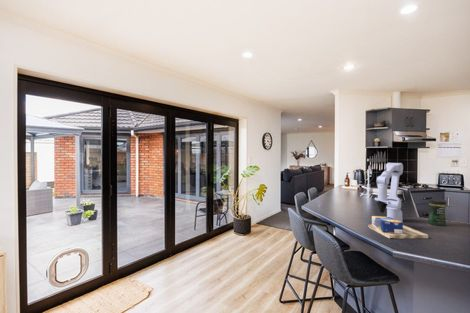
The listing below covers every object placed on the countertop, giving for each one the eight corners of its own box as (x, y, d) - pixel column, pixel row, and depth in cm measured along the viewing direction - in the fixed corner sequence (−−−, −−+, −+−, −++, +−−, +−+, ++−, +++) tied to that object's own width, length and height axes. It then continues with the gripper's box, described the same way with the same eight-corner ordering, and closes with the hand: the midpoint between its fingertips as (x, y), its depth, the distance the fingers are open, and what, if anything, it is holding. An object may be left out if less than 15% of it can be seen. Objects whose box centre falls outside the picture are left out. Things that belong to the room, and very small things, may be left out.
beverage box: (389, 227, 167) (403, 233, 146) (371, 225, 170) (382, 232, 148) (389, 217, 168) (402, 222, 146) (371, 215, 170) (382, 221, 149)
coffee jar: (432, 225, 171) (433, 199, 171) (426, 222, 179) (426, 197, 179) (448, 226, 169) (448, 200, 169) (440, 223, 177) (441, 198, 177)
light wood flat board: (402, 227, 166) (402, 224, 166) (428, 238, 145) (428, 235, 145) (368, 227, 165) (368, 224, 165) (389, 238, 144) (389, 235, 144)
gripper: (370, 191, 176) (370, 210, 176) (383, 195, 162) (383, 215, 162) (380, 191, 176) (379, 210, 177) (393, 195, 162) (393, 215, 162)
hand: (382, 212), depth 169 cm, fingers closed
